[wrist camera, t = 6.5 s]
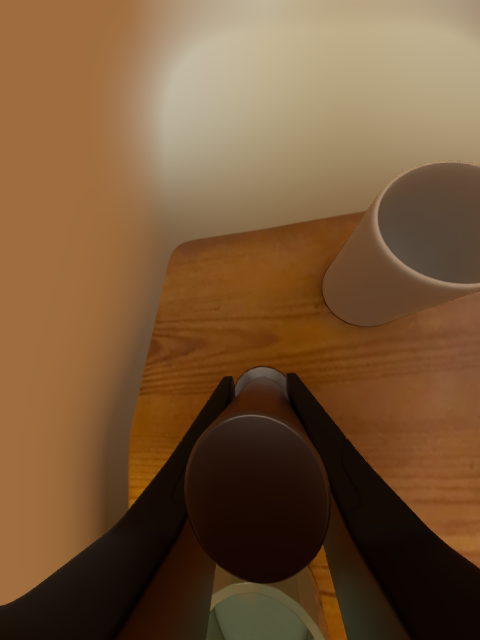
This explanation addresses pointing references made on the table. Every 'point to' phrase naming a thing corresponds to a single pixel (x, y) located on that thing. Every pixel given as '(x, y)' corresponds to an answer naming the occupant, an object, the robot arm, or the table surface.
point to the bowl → (266, 609)
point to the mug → (410, 247)
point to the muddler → (258, 485)
